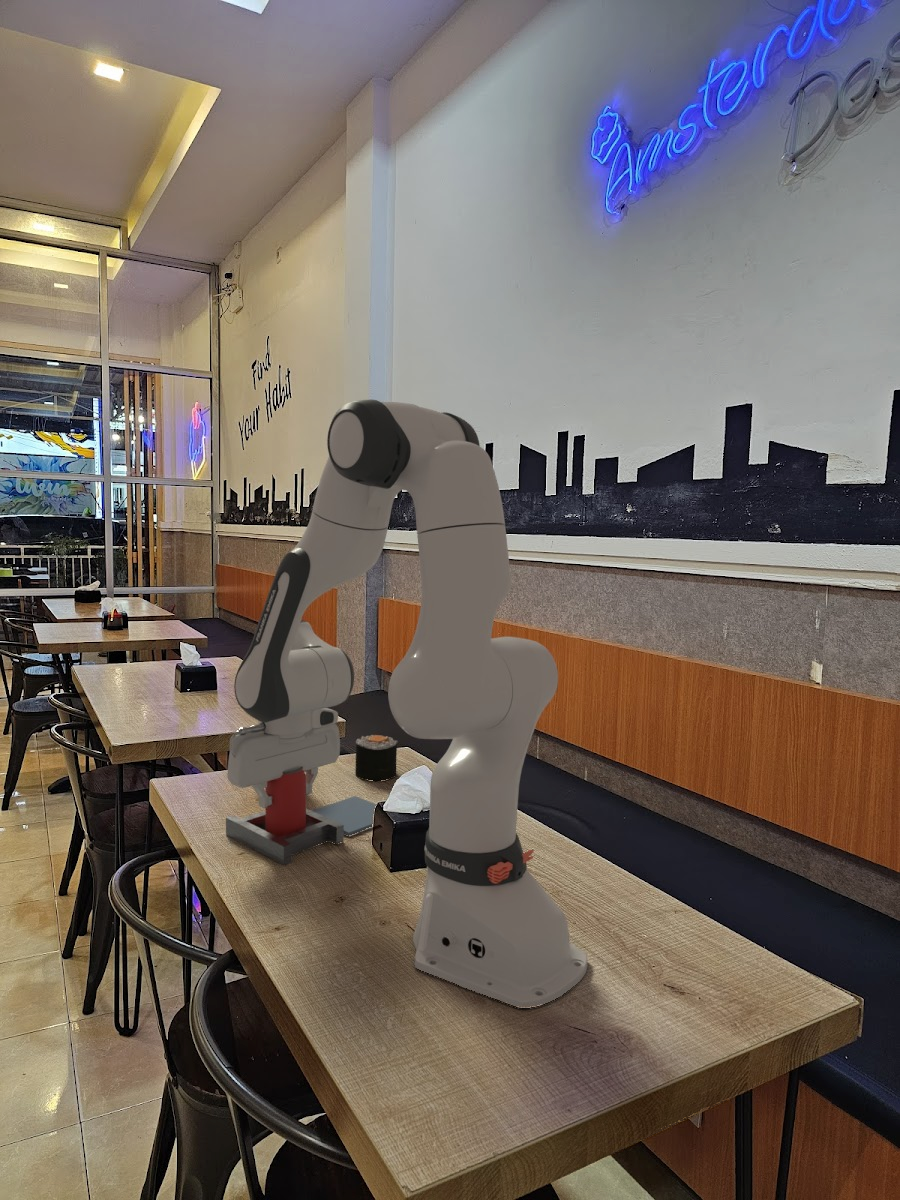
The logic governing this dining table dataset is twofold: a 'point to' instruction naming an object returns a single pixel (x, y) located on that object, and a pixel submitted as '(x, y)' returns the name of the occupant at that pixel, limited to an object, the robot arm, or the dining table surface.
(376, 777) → the sushi
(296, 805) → the beer can
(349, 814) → the rubber mat
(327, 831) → the frame
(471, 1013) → the dining table surface
